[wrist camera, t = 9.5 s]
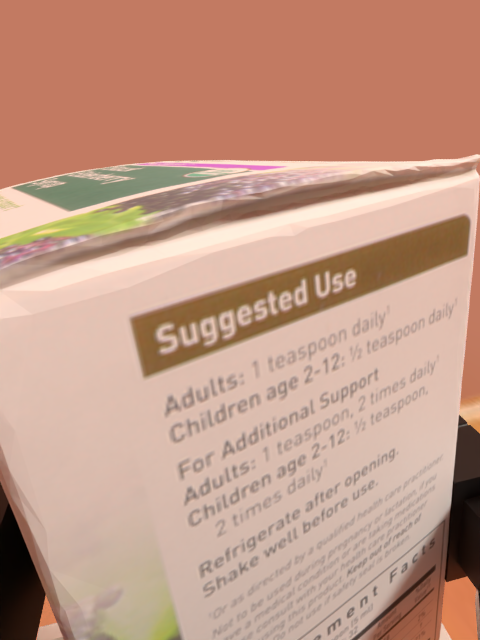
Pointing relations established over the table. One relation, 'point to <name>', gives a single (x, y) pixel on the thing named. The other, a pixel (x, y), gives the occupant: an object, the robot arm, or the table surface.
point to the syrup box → (237, 394)
